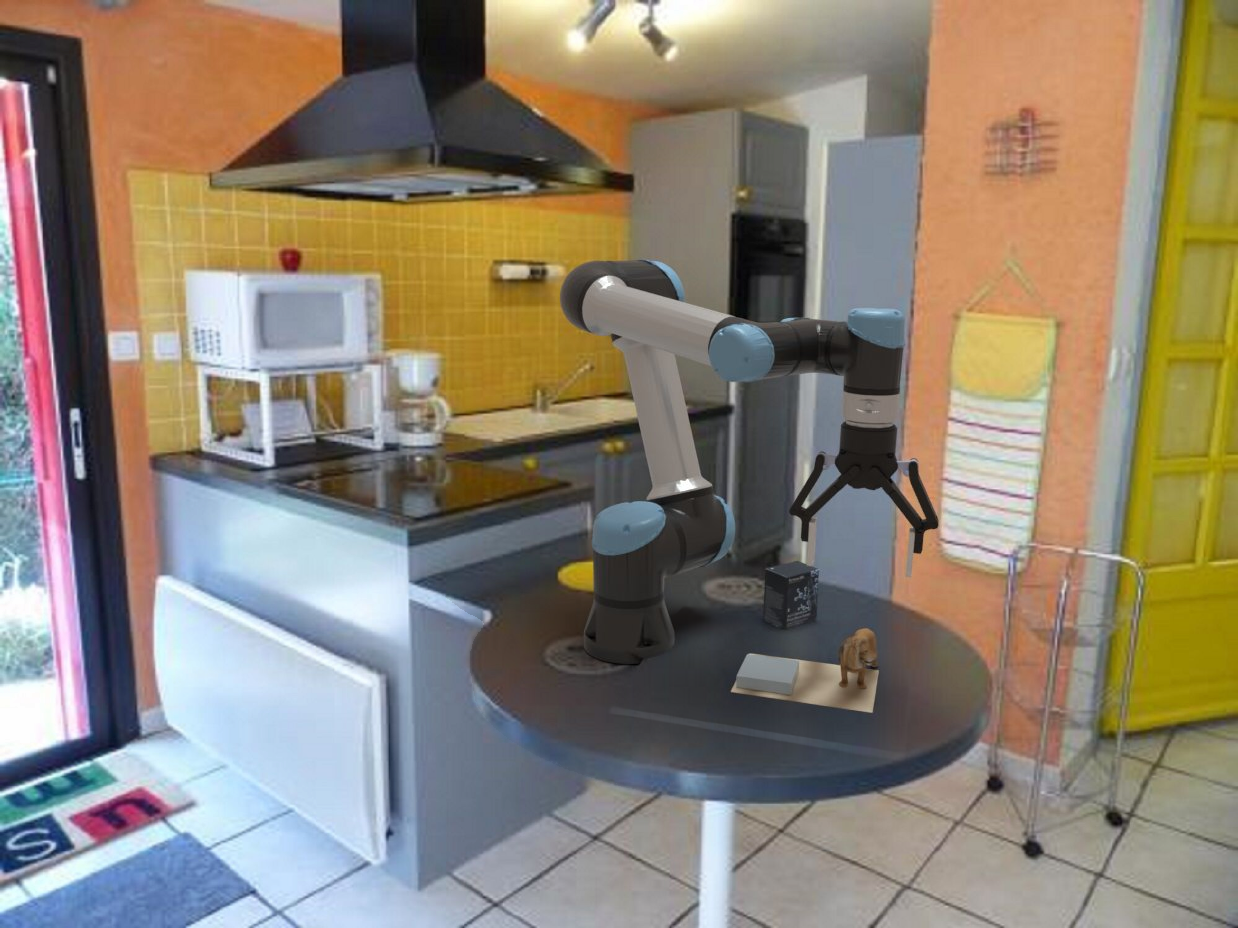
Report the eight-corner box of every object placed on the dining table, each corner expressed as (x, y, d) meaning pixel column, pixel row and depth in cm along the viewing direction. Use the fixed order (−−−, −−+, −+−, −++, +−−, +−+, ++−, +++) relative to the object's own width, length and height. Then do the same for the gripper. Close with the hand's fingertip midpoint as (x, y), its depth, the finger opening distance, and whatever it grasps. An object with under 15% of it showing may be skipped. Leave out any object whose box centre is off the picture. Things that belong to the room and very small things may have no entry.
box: (784, 635, 154) (786, 576, 152) (762, 624, 159) (763, 567, 157) (817, 625, 159) (820, 568, 156) (794, 615, 163) (796, 559, 161)
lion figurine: (872, 702, 129) (876, 643, 127) (834, 696, 130) (837, 638, 128) (879, 660, 142) (882, 606, 140) (844, 655, 144) (847, 602, 142)
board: (730, 697, 132) (730, 691, 132) (749, 658, 145) (749, 653, 145) (872, 719, 126) (872, 712, 126) (878, 676, 139) (878, 670, 139)
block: (747, 665, 141) (736, 687, 133) (747, 653, 140) (736, 675, 133) (798, 672, 138) (790, 695, 131) (799, 660, 138) (791, 683, 130)
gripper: (773, 421, 125) (767, 566, 130) (966, 434, 117) (951, 588, 122) (782, 412, 132) (776, 550, 137) (965, 423, 124) (951, 570, 129)
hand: (858, 568), depth 130 cm, fingers open, 13 cm apart
